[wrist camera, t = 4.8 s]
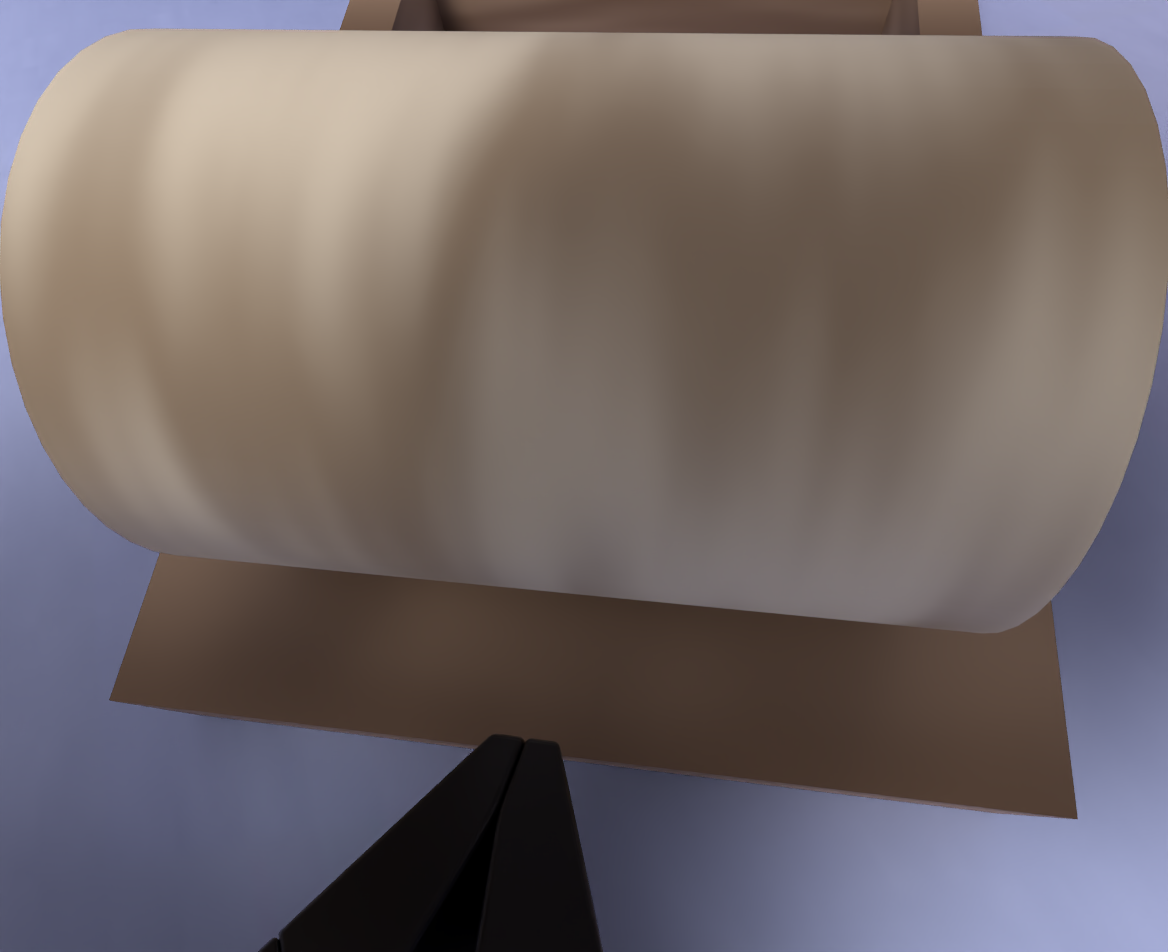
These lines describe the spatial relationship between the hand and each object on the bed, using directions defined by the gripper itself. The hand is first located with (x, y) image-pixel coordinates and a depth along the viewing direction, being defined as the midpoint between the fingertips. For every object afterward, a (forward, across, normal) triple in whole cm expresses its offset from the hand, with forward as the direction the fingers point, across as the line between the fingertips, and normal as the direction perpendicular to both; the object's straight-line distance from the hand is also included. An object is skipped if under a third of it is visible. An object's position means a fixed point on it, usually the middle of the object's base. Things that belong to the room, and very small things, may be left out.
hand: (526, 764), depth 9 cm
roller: (+4, 0, -4) cm, 6 cm away
